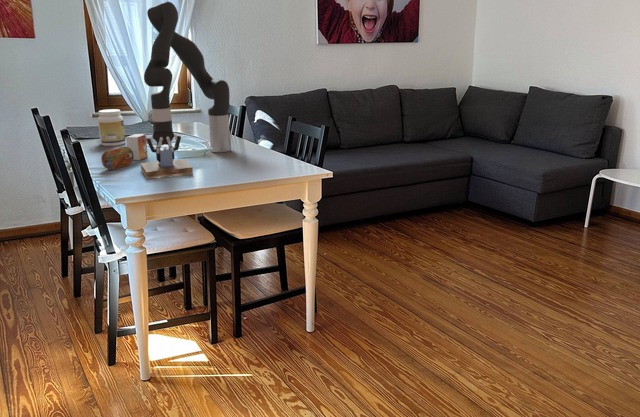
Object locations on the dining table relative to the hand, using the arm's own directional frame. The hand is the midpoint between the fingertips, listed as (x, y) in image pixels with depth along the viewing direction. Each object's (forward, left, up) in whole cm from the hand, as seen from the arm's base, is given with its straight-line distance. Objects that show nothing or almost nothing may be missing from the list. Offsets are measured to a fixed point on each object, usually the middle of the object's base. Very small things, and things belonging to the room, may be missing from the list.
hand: (165, 161), depth 239 cm
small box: (+7, -32, -5) cm, 33 cm away
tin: (+17, -18, -5) cm, 25 cm away
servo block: (0, 0, -3) cm, 3 cm away
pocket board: (0, 0, -5) cm, 5 cm away
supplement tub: (+14, -71, -5) cm, 73 cm away
